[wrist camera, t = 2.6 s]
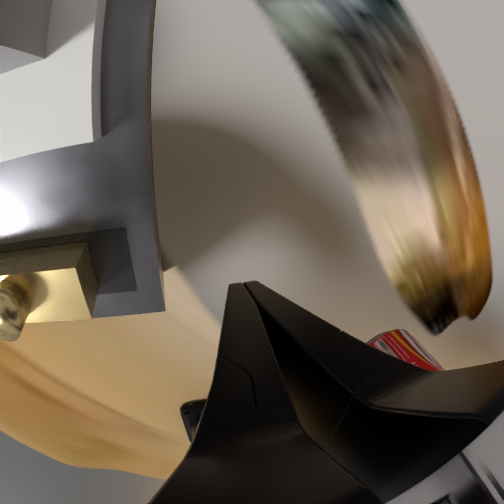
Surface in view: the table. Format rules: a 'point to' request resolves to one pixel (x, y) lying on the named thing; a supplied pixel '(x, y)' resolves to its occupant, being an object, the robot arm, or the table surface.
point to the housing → (100, 178)
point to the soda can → (405, 349)
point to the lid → (49, 74)
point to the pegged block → (45, 286)
